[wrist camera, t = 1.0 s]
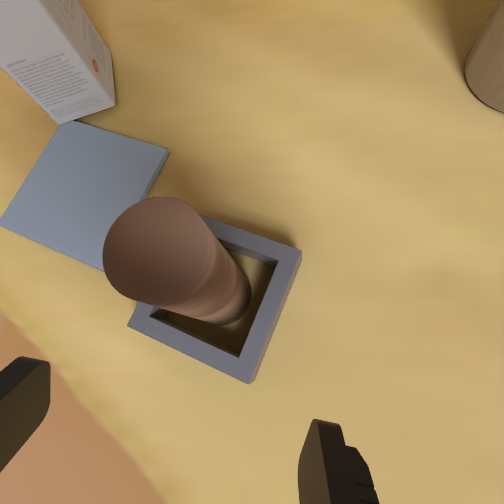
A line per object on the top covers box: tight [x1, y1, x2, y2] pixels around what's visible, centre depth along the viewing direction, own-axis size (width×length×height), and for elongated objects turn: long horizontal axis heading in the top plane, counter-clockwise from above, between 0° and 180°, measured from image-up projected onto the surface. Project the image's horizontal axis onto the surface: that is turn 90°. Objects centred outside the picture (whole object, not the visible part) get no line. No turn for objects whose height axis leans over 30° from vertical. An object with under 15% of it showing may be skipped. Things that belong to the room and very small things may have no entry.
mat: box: [0, 120, 170, 272], centre depth 29 cm, size 12×12×1 cm
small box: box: [0, 0, 116, 125], centre depth 27 cm, size 8×6×13 cm
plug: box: [102, 197, 252, 325], centre depth 19 cm, size 5×5×12 cm
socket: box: [127, 214, 302, 384], centre depth 24 cm, size 9×9×2 cm
